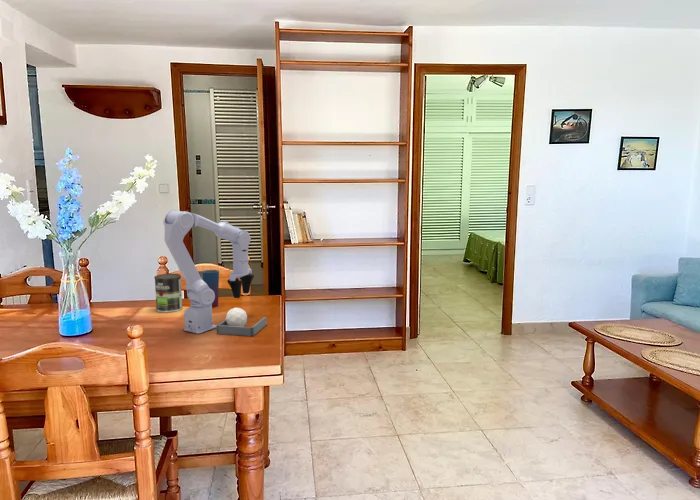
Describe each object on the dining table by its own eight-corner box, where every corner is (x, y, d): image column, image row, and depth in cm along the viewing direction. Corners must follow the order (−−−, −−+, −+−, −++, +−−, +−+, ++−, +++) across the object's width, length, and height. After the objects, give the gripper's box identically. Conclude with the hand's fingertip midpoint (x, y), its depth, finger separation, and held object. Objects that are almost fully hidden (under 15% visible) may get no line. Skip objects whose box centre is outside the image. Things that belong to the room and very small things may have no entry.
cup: (217, 307, 211) (216, 272, 208) (201, 307, 211) (200, 272, 208) (222, 303, 217) (220, 269, 215) (206, 303, 217) (205, 269, 215)
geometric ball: (239, 333, 186) (248, 313, 189) (243, 332, 179) (252, 311, 182) (220, 324, 185) (230, 305, 187) (223, 323, 177) (233, 302, 180)
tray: (253, 336, 175) (252, 327, 175) (216, 333, 178) (216, 325, 177) (266, 324, 188) (266, 316, 188) (232, 322, 191) (232, 314, 190)
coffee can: (172, 313, 202) (170, 279, 200) (151, 311, 205) (148, 277, 203) (187, 307, 212) (186, 274, 210) (167, 305, 215) (165, 272, 213)
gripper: (239, 257, 200) (240, 290, 202) (221, 263, 186) (222, 299, 188) (256, 258, 198) (256, 291, 200) (238, 264, 184) (239, 300, 186)
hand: (241, 295), depth 194 cm, fingers open, 7 cm apart
